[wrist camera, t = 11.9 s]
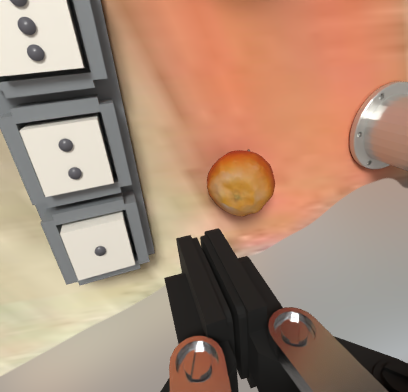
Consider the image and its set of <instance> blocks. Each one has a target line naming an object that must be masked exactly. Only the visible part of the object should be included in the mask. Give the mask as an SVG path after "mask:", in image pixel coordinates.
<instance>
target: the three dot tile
mask: <svg viewBox="0 0 408 392" xmlns="http://www.w3.org/2000/svg"><path fill="white" fill-rule="evenodd" d="M85 67H86V64H85V60H84V57H83V53H82V49H81V45H80V41H79V37H78V33H77V29H76V26H75V22H74V18H73V14H72V10H71V6H70V2H69V0H0V76H10V75H19V74H29V73H38V72H48V71H58V70H67V69H77V68H85Z"/></svg>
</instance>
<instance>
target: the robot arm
mask: <svg viewBox="0 0 408 392" xmlns="http://www.w3.org/2000/svg"><path fill="white" fill-rule="evenodd" d="M350 151H351V154H352V156H353V158H354V160H355V161H356V162H357V163H358V164H359V165H361V166H363V167H366V168H369V169H381V168H384V167H387V166H389V165H392V166H395V167H398V168H401V169H403V170H406V171H408V82H399V81H397V82H391V83H388V84H386V85H383V86H382V87H380V88H379V89H377V90H376V91H375V92H373V93H372V94H371V95H370V96H369V97H368V98H367V99H366V101H365V102H364V103H363V105H362V106H361V108H360V109H359V111H358V113H357V115H356V117H355V119H354V121H353V124H352V127H351V132H350ZM200 239H201V246H200V243H199V241H198V239H197V238H192V237H191V235H189V236H185V237H180V238H177V239H176V240H177V246H178V252H179V258H180V264H181V270H182V273H181V274H178V275H174V276H170V277H166V278H165V283H166V288H167V292H168V297H169V302H170V306H171V311H172V316H173V320H174V325H175V330H176V334H177V339H178V343H179V345H178V346H177V347H176V348H175V349H174V351H173V353H172V356H171V358H170V365H169V371H170V378H169V379H168V381H167V382H166V384H165V385H164V387H163V389H162V390H161V392H238V380H237V370H238V373H239V375H240V378H241V379H244V378H247V380H248V383H249V385H250V387H251V388H253V387H256V386H257V388H258V391H259V392H408V363H405V362H403V361H401V360H399V359H397V358H394V357H391V356H388V355H385V354H382V353H380V352H377V351H374V350H371V349H368V348H365V347H362V346H360V345H357V344H354V343H351V342H348V341H346V340H343V339H340V338H337V337H334V336H332V335H331V334H330V333H329V332H328V331H327V330H326V329H325V328H324V327H323V326H322V325H321V324H320V323H319V322H318V321H317V320H316V319H315V318H314V317H313V316H312V315H311V314H309V313H308V312H306V311H303V310H301V309H298V308H293V307H289V308H283V307H282V306H281V304H280V303H279V301H278V300H277V299H276V297H275V296H274V294H273V293H272V291H271V290H270V288H269V287H268V285H267V284H266V282H265V281H264V279H263V278H262V276H261V275H260V273H259V272H258V270H257V269H256V268H255V266H254V265H253V263H252V262H251V260H250V259H249V258H248V257H247V256H245V257H241V258H237V256H236V255H235V253H234V252H233V250H232V248H231V247H230V245H229V243H228V242H227V240H226V239H225V237H224V235H223V234H222V232H221V231H220V229H219V228H218V229H214V230H210V231H205V236H201V238H200ZM201 247H202V248H201Z"/></svg>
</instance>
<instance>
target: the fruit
mask: <svg viewBox="0 0 408 392" xmlns="http://www.w3.org/2000/svg"><path fill="white" fill-rule="evenodd" d="M274 188H275V180H274V176H273V172H272V169H271V166H270V165H269V163H268V162H267V161H266V160H265V159H264V158H262V157H261V156H260V155H258V154H256V153H253V152H250V150H248V151H232V152H229V153H227V154H226V155H224V156H223V157H221V158H220V159H219V160H218V161H217V162H216V163H215V164H214V165H213V166H212V168H211V170H210V171H209V173H208V177H207V189H208V192H209V195H210V196H211V198H212V199H213V200H214V202H215V203H216V204H217V205H218V206H219V207H220V208H222V209H223V210H225V211H226V212H228V213H230V214H233V215H237V216H246V215H248V214H252V213H256V212H258V211H260V210H261V209H262V207H263V206H264V205H265V204H266V202H267V201H268V200H269V199H270V198H271V197H272V195H273V192H274Z"/></svg>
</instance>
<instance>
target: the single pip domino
mask: <svg viewBox="0 0 408 392" xmlns="http://www.w3.org/2000/svg"><path fill="white" fill-rule="evenodd" d="M60 235H61V238H62V240H63V243H64V245H65V248H66V250H67V253H68V256H69V258H70V261H71V263H72V266H73V268H74V271H75V273H76V276H77V278H78V281H79V280H83V279H86V278H90V277H93V276H97V275H101V274H104V273H108V272H111V271H115V270H119V269H122V268H126V267H129V266H133V265H135V260H134V254H133V248H132V243H131V239H130V235H129V231H128V227H127V223H126V220H125V216H124V212H123V210H122V211H117V212H113V213H108V214H104V215H100V216H95V217H91V218H87V219H82V220H78V221H73V222H69V223H65V224H62V228H61V232H60Z"/></svg>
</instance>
